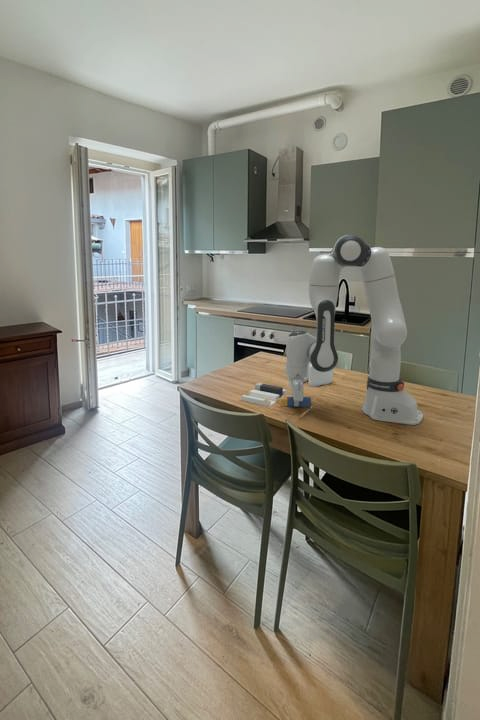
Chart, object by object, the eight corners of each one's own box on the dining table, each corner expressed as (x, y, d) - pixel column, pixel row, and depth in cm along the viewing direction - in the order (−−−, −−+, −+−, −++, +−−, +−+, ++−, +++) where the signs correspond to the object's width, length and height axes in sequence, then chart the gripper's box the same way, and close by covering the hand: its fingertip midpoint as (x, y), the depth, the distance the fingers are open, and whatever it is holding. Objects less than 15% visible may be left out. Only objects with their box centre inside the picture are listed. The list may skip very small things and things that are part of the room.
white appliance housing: (285, 396, 177) (286, 389, 176) (269, 408, 164) (269, 401, 163) (259, 391, 184) (260, 384, 183) (241, 402, 171) (241, 395, 170)
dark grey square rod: (282, 396, 175) (282, 387, 174) (279, 398, 173) (279, 389, 172) (258, 391, 181) (258, 382, 180) (254, 393, 179) (255, 384, 178)
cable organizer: (308, 388, 187) (310, 364, 184) (294, 382, 196) (295, 359, 193) (333, 383, 194) (334, 360, 191) (318, 377, 203) (319, 355, 200)
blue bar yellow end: (309, 406, 167) (309, 396, 166) (310, 408, 164) (310, 399, 163) (280, 405, 167) (280, 396, 166) (280, 408, 164) (281, 399, 163)
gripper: (308, 379, 151) (306, 413, 155) (301, 364, 171) (300, 394, 175) (291, 379, 151) (290, 413, 155) (286, 364, 171) (285, 394, 175)
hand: (295, 403), depth 165 cm, fingers closed on blue bar yellow end, 3 cm apart
